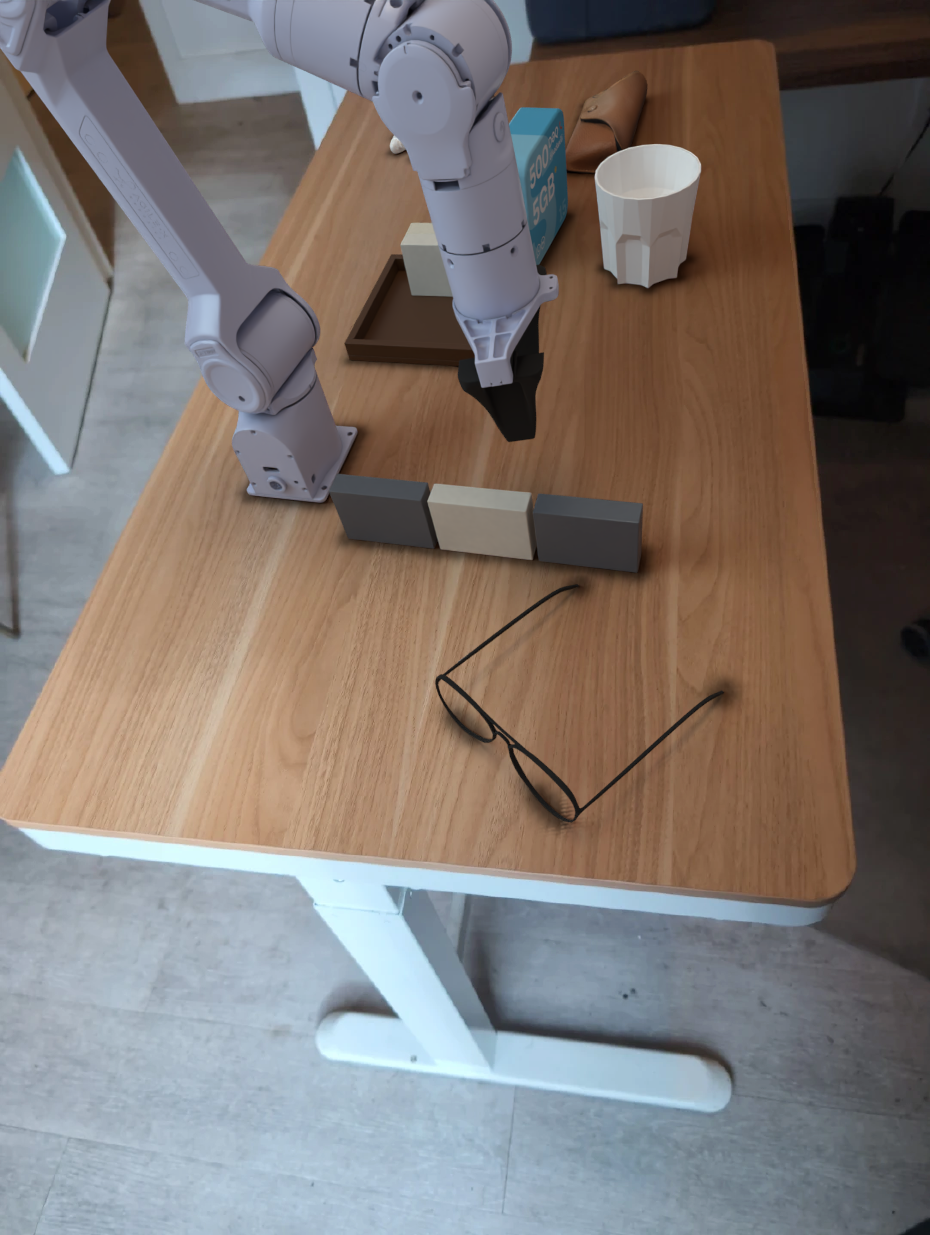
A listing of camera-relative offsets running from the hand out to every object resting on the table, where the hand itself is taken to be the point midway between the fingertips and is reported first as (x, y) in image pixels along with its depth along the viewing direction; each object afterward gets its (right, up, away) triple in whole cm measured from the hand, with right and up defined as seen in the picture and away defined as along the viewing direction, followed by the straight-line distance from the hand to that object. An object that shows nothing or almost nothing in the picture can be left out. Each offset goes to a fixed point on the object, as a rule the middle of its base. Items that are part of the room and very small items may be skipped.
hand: (523, 402), depth 62 cm
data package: (+4, +26, +32) cm, 42 cm away
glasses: (+4, -22, -2) cm, 22 cm away
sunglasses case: (+13, +45, +43) cm, 64 cm away
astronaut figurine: (-9, +49, +50) cm, 71 cm away
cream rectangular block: (-2, -10, +8) cm, 13 cm away
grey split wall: (-2, -10, +8) cm, 13 cm away
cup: (+15, +21, +27) cm, 37 cm away
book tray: (-7, +16, +27) cm, 32 cm away
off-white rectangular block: (-6, +20, +29) cm, 35 cm away
